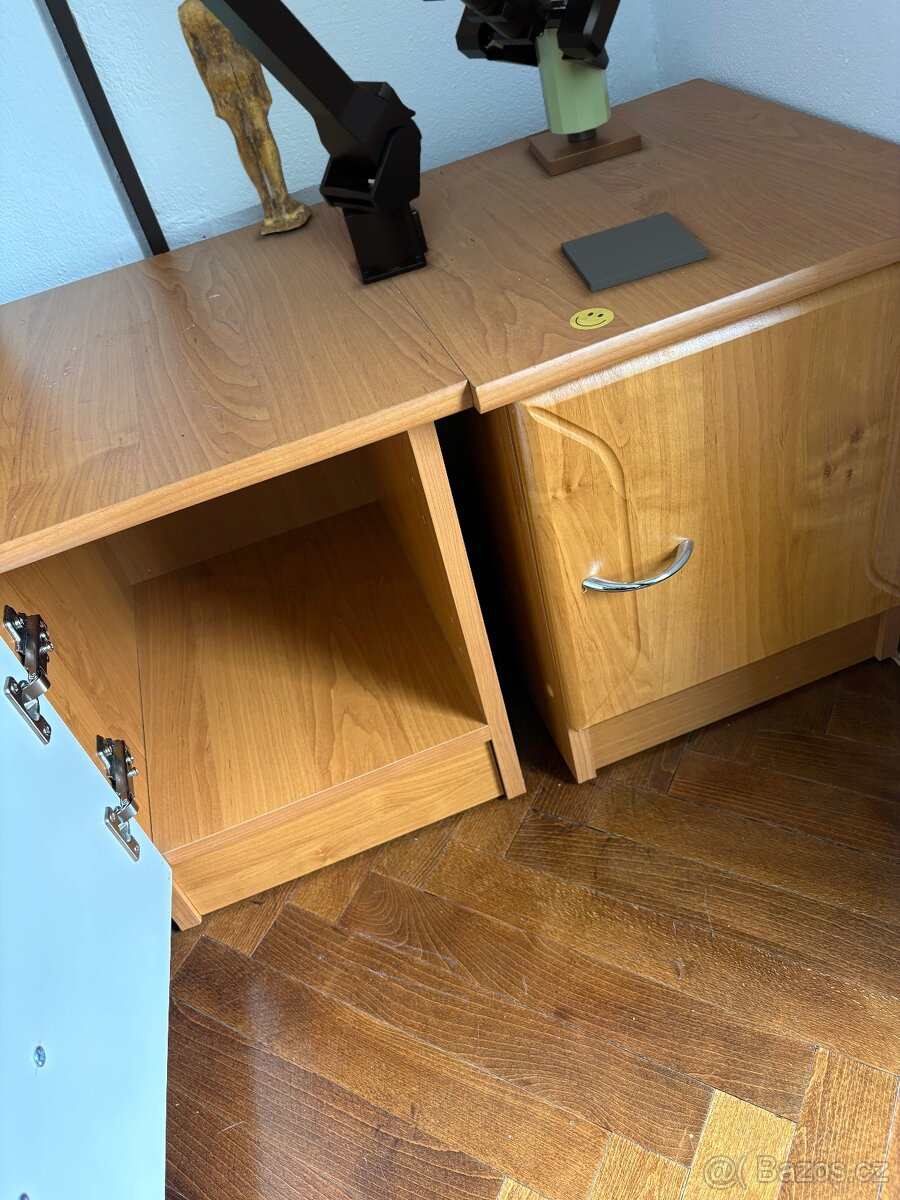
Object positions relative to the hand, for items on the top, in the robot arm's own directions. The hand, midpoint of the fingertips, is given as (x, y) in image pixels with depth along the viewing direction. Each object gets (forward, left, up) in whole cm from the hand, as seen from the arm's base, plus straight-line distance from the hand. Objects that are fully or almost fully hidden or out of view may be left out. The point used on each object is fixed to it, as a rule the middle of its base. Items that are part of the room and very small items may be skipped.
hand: (581, 65), depth 106 cm
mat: (-5, -31, -8) cm, 32 cm away
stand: (-1, -1, -8) cm, 8 cm away
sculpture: (-35, +3, -8) cm, 36 cm away
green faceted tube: (-1, -1, -5) cm, 6 cm away
